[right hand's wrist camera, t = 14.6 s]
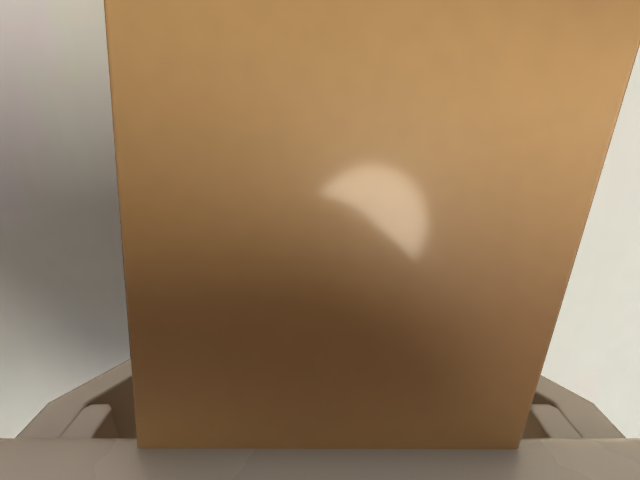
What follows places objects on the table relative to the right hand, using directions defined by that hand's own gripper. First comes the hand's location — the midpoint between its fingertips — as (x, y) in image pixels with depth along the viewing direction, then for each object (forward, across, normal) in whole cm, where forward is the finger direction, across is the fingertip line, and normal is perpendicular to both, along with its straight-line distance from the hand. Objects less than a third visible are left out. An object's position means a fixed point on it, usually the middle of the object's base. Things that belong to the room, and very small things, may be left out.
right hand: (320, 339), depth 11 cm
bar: (+5, -1, -8) cm, 9 cm away
